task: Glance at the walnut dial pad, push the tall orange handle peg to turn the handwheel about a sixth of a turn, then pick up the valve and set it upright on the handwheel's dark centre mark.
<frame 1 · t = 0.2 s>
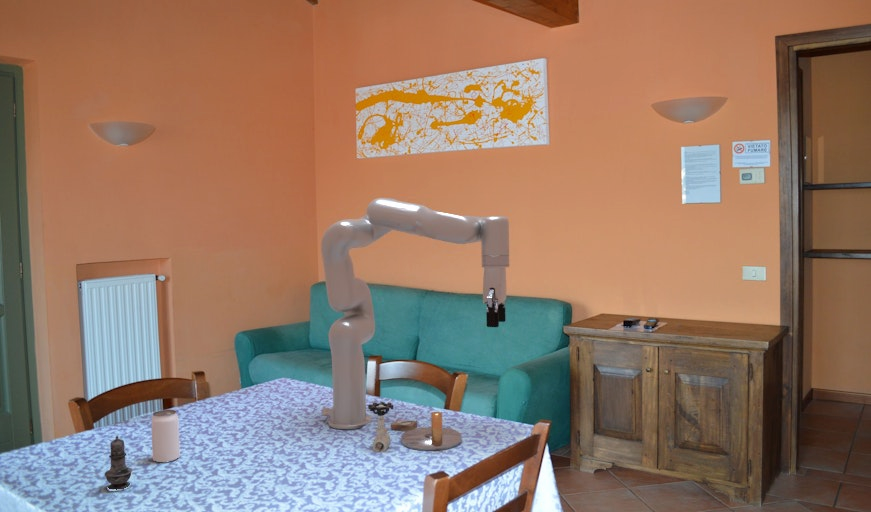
hand: (496, 324, 196), 31 cm above the table, tool pointing down, fingers open, 9 cm apart
can: (166, 459, 183), on the table
handwheel: (431, 423, 190), point 6 cm above the table, hinge at 0.0°
dial pad: (404, 431, 202), on the table
valve: (381, 451, 186), on the table
salt shaker: (119, 487, 164), on the table
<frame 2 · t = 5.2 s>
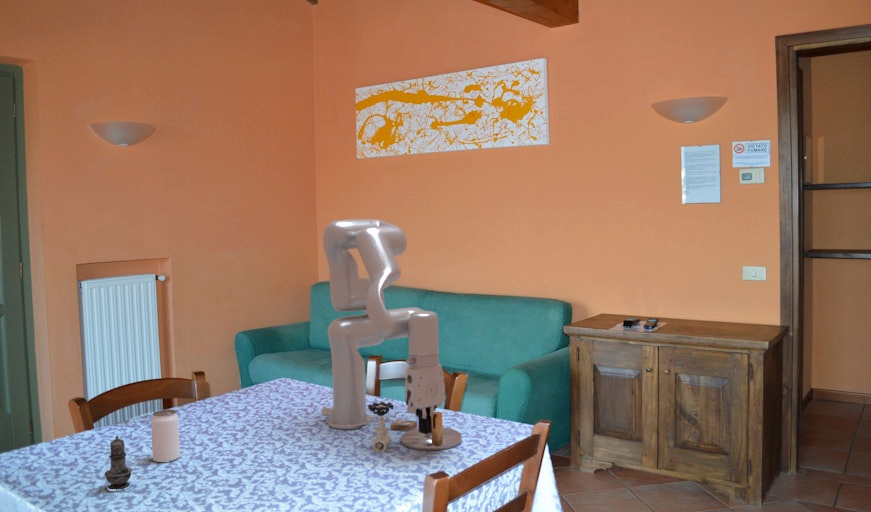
hand: (425, 432, 181), 6 cm above the table, tool pointing down, fingers closed
handwheel: (431, 423, 190), point 6 cm above the table, hinge at 0.1°, touching gripper
everything else where it was.
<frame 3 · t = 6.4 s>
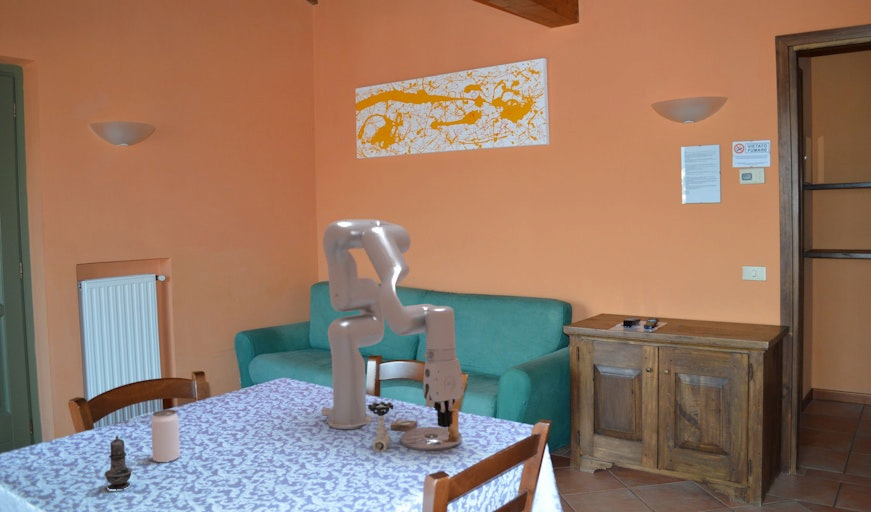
hand: (444, 426, 183), 7 cm above the table, tool pointing down, fingers closed
handwheel: (431, 423, 190), point 6 cm above the table, hinge at 43.1°, touching gripper
everything else where it was.
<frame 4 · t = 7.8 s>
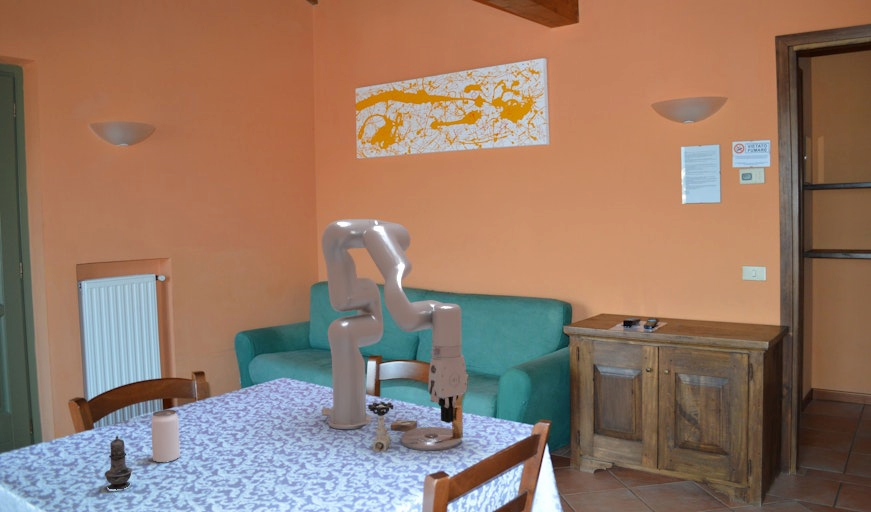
hand: (447, 421, 186), 7 cm above the table, tool pointing down, fingers closed
handwheel: (431, 423, 190), point 6 cm above the table, hinge at 70.2°
everything else where it was.
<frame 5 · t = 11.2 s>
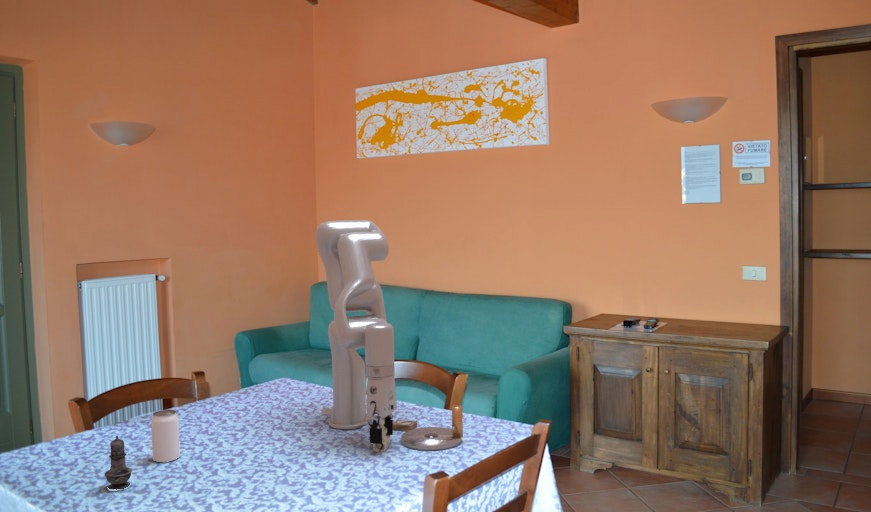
hand: (381, 438, 186), 3 cm above the table, tool pointing down, fingers closed on valve, 6 cm apart
valve: (381, 451, 186), on the table, touching gripper
everything else where it was.
when the fingers open (7 cm above the table, at t = 16.5 s): valve drops 1 cm, resting on handwheel.
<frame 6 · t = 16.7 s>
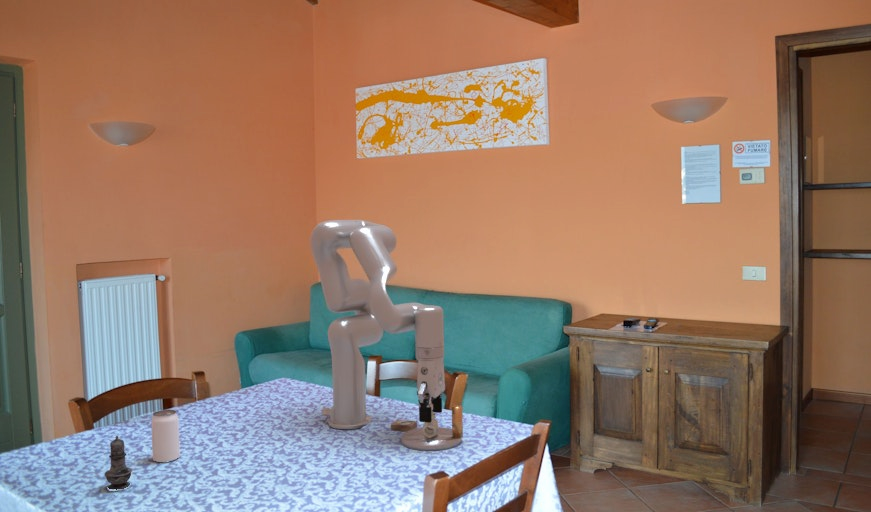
hand: (430, 416, 190), 7 cm above the table, tool pointing down, fingers open, 8 cm apart
handwheel: (431, 423, 190), point 6 cm above the table, hinge at 70.2°, touching valve
valve: (430, 436, 191), point 2 cm above the table, touching handwheel
everything else where it was.
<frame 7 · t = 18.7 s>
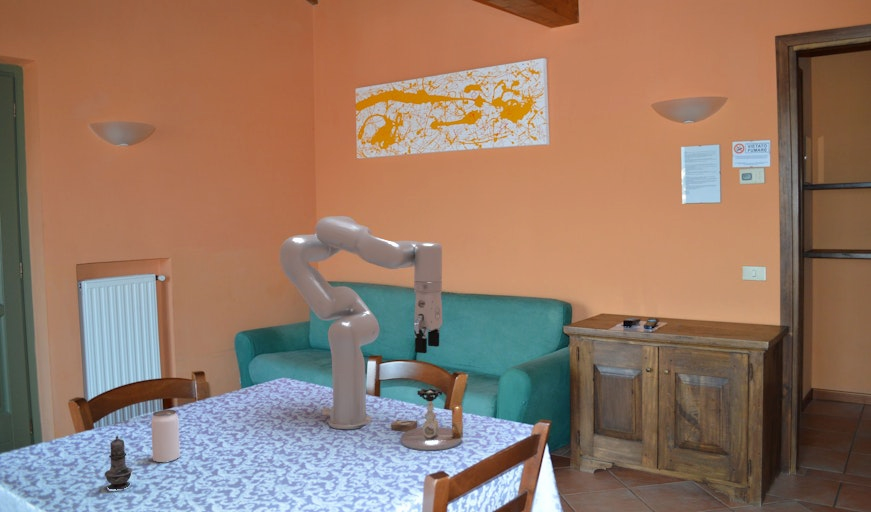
hand: (427, 349, 197), 24 cm above the table, tool pointing down, fingers open, 9 cm apart
nothing on the table moved.
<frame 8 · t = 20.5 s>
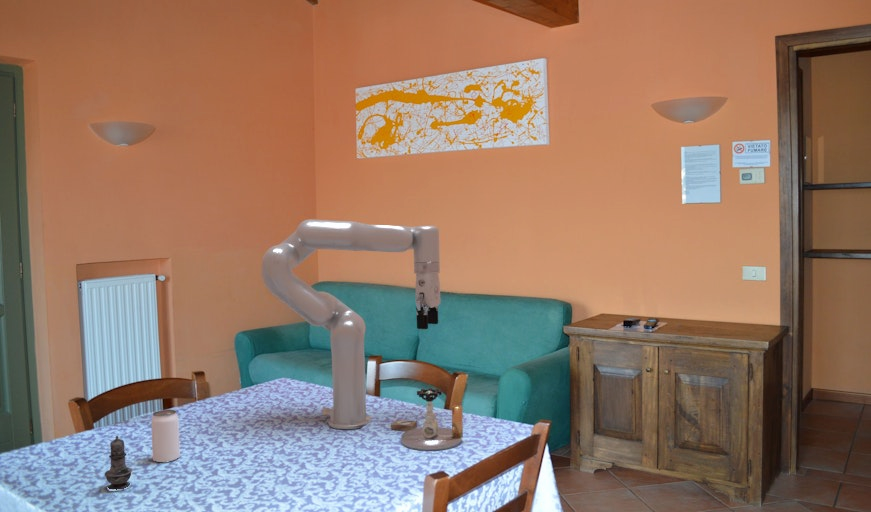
hand: (427, 326, 210), 28 cm above the table, tool pointing down, fingers open, 9 cm apart
nothing on the table moved.
at the end: handwheel at +70° (first picture: +0°); valve 0.2 cm from the handwheel (horizontally); valve tilted 1° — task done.
